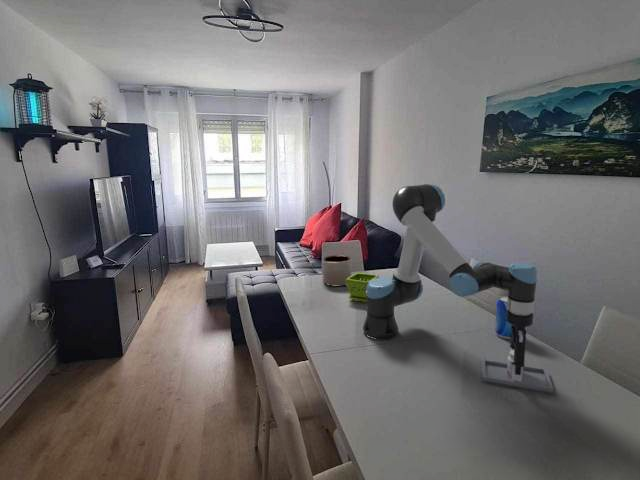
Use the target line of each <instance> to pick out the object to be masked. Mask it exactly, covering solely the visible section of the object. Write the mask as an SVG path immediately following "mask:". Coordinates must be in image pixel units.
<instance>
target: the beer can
mask: <svg viewBox="0 0 640 480" xmlns="http://www.w3.org/2000/svg"><path fill="white" fill-rule="evenodd" d="M507 298H508V295H506V296H503V295H502V296H500V297H499V299H498V300H497V302H496V310H495V311H496V312H495V325H494V333H495V334H496V336H497V337H500V338H501V339H504V340H510V337H511V325H512V324H510V323H508V322H507V320H506V315H507V310H508V309H507Z"/></svg>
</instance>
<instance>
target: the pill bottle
mask: <svg viewBox="0 0 640 480" xmlns="http://www.w3.org/2000/svg"><path fill="white" fill-rule="evenodd" d="M508 355H509V356H508V357H507V363H508V364H507V375H508V376H509V377H510V378H512V370H513V364H511V362H513V363H514V350H511V351H510V350H509V354H508ZM523 368H524V367H523ZM522 378H523V370H522Z"/></svg>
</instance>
